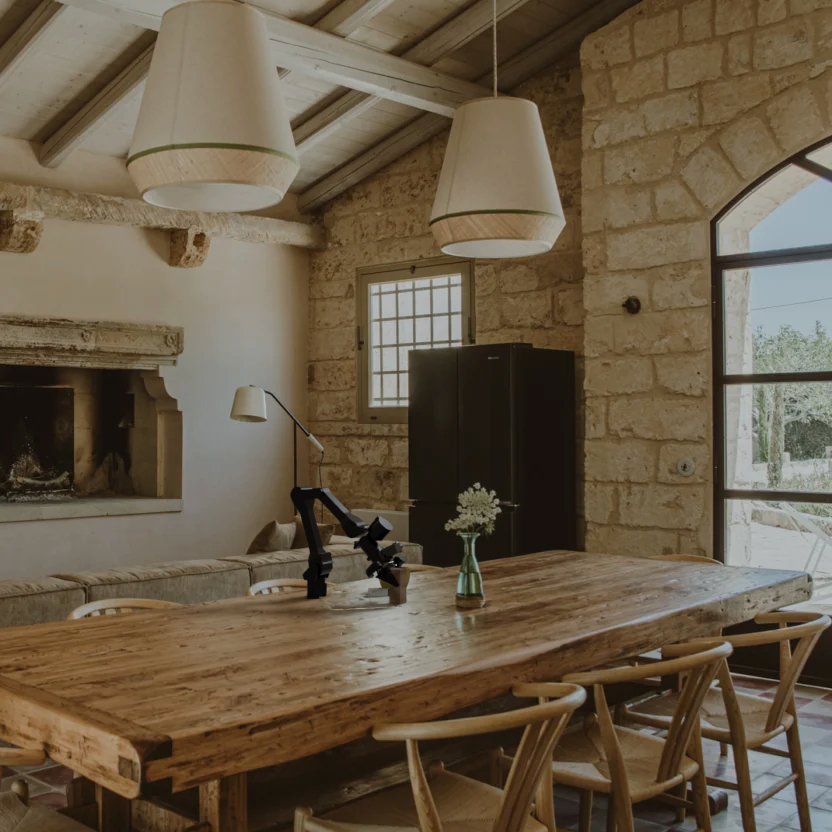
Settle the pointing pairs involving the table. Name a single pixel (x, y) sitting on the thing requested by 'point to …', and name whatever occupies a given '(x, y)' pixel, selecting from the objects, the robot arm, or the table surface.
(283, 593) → the table surface
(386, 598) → the sage board
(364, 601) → the table surface
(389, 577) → the robot arm
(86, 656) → the table surface
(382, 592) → the grey metal block
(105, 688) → the table surface
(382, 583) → the flower pot
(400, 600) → the walnut post
